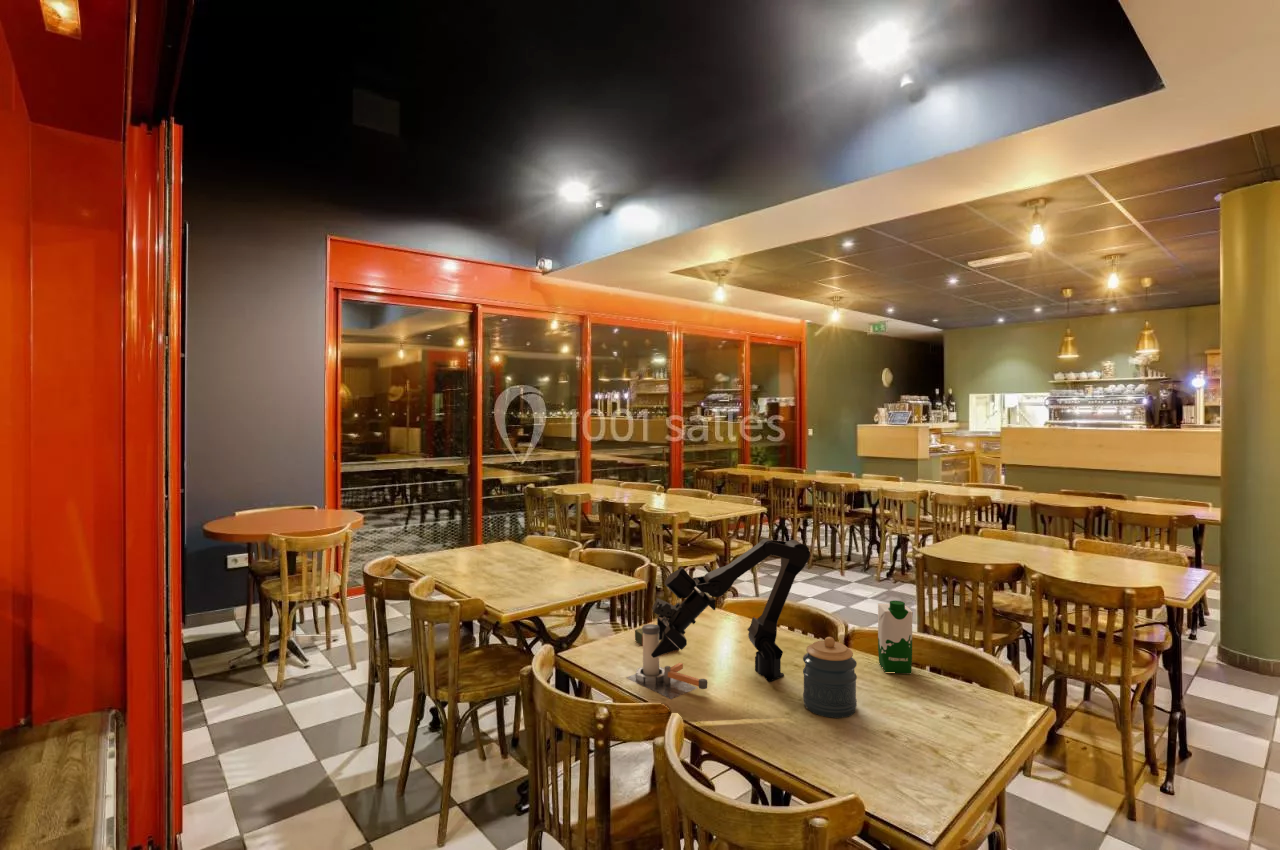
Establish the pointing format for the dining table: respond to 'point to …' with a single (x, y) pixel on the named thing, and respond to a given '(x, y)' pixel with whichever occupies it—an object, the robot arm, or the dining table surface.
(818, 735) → the dining table surface
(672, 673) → the clip
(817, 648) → the canister
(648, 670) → the plug
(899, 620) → the milk carton
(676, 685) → the socket plate
